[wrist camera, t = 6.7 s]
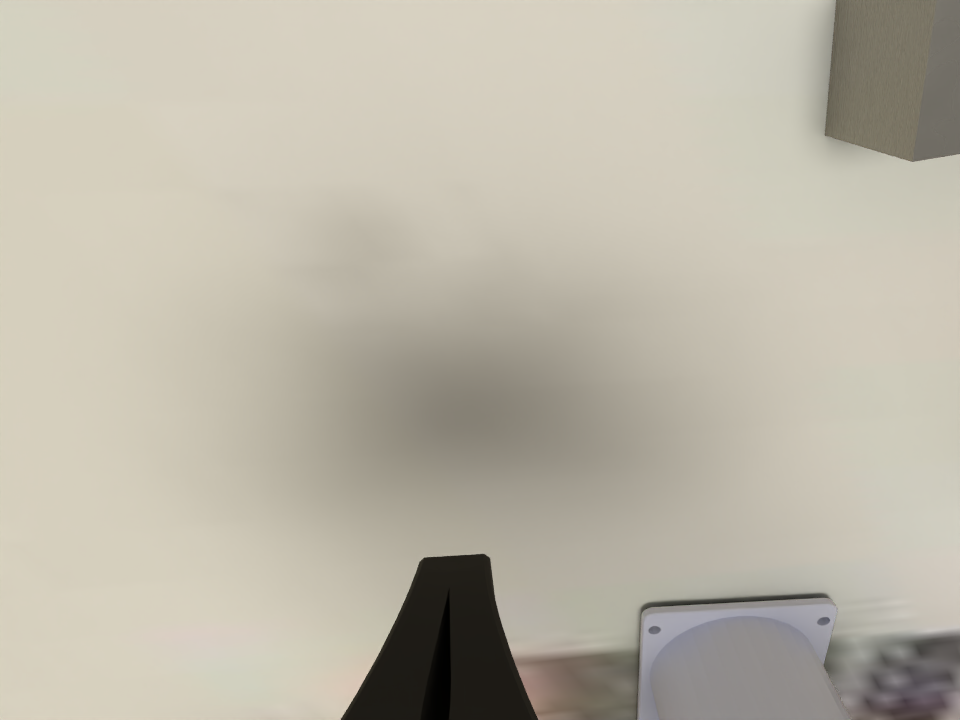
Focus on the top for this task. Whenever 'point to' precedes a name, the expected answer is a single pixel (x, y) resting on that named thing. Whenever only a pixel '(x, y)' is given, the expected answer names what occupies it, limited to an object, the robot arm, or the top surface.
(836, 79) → the block
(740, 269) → the top surface
